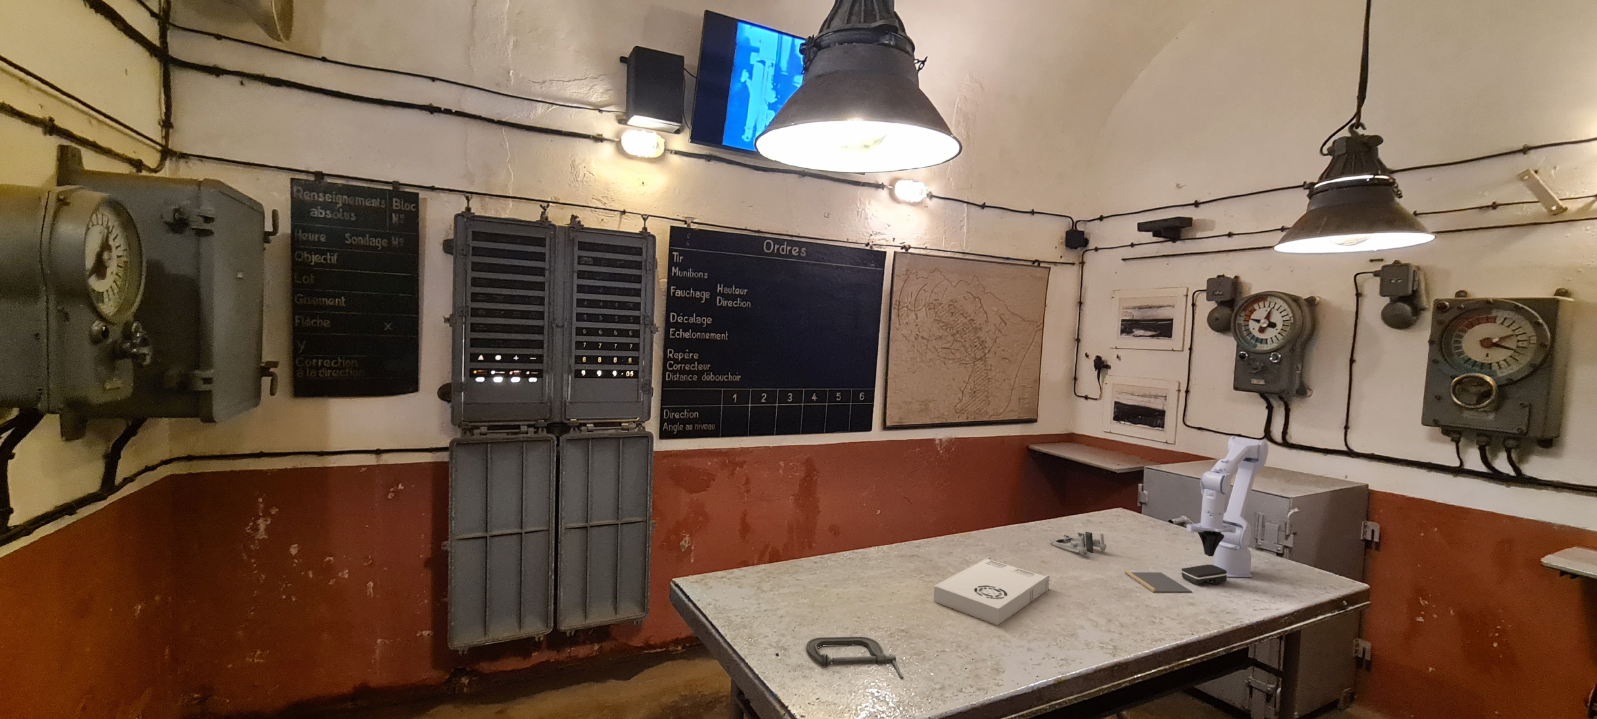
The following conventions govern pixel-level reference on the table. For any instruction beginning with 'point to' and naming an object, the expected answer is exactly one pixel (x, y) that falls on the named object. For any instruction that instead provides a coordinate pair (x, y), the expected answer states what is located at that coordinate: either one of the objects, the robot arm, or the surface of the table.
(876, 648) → the c clamp
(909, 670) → the table surface
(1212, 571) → the battery charger
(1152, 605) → the table surface
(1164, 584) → the mat
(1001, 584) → the white flat box
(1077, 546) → the bike brake
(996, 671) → the table surface
